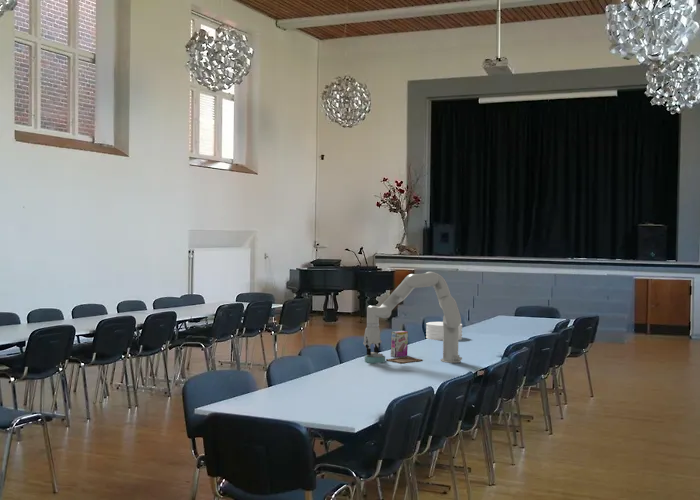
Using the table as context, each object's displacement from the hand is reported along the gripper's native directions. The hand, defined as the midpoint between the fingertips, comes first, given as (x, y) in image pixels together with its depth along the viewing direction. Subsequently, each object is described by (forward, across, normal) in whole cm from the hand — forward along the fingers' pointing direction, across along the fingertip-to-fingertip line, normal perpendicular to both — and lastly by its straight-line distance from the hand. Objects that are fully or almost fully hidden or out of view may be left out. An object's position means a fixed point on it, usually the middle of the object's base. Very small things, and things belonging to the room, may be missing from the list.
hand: (372, 354), depth 472 cm
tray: (+4, -16, +12) cm, 21 cm away
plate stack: (+5, -120, -50) cm, 130 cm away
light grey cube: (+4, 0, +5) cm, 6 cm away
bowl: (+4, 0, +2) cm, 5 cm away
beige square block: (+4, 0, 0) cm, 4 cm away
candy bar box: (+5, -27, -4) cm, 28 cm away
